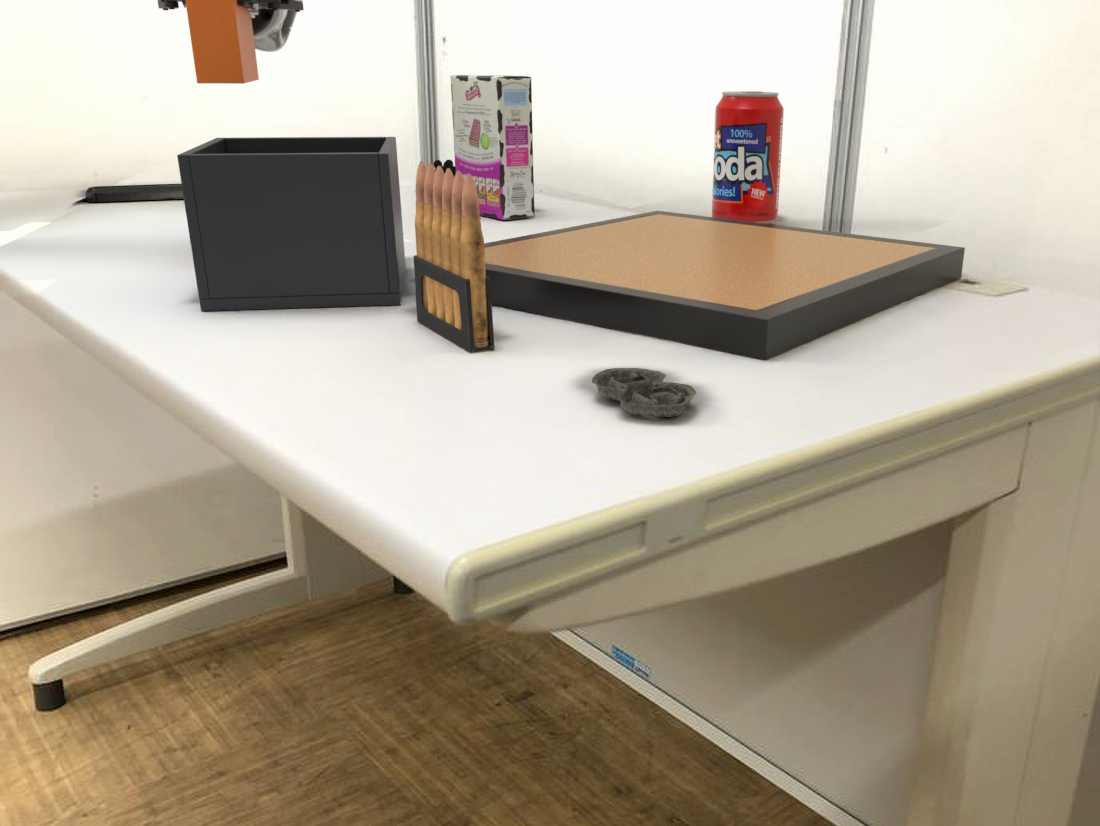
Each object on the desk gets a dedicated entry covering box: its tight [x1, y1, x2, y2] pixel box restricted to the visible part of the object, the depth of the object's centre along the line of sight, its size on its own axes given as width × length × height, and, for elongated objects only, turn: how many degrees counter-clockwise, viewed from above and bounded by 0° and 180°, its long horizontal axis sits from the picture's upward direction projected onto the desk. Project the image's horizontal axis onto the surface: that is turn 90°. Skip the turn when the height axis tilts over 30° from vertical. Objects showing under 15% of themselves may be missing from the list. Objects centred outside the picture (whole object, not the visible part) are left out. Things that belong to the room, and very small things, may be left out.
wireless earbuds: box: [433, 159, 455, 177], centre depth 146 cm, size 7×2×5 cm, turn 120°
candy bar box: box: [449, 74, 536, 221], centre depth 130 cm, size 11×5×16 cm, turn 40°
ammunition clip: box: [412, 160, 495, 354], centre depth 76 cm, size 11×2×12 cm, turn 31°
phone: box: [84, 183, 184, 203], centre depth 144 cm, size 8×1×15 cm
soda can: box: [711, 90, 785, 224], centre depth 124 cm, size 8×8×15 cm
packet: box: [185, 0, 260, 85], centre depth 96 cm, size 4×9×13 cm, turn 10°
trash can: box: [176, 136, 406, 312], centre depth 90 cm, size 16×16×12 cm
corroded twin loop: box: [591, 367, 697, 418], centre depth 64 cm, size 5×8×1 cm, turn 30°
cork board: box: [484, 210, 966, 361], centre depth 95 cm, size 36×3×35 cm
